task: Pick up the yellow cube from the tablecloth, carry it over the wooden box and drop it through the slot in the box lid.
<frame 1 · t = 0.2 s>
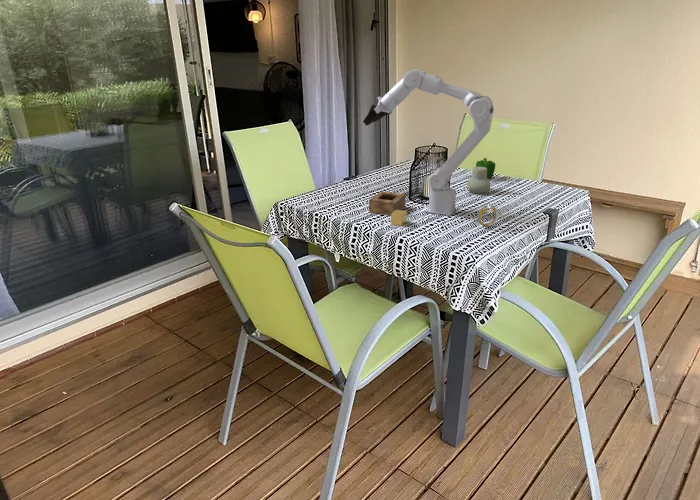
hand: (368, 121, 189), 31 cm above the table, tool tilted 45°, fingers open, 7 cm apart
bell pepper: (484, 179, 231), on the table
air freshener: (478, 192, 212), on the table
bracelet: (486, 227, 174), on the table
wooden box: (387, 209, 193), on the table
yellow cube: (398, 223, 180), on the table
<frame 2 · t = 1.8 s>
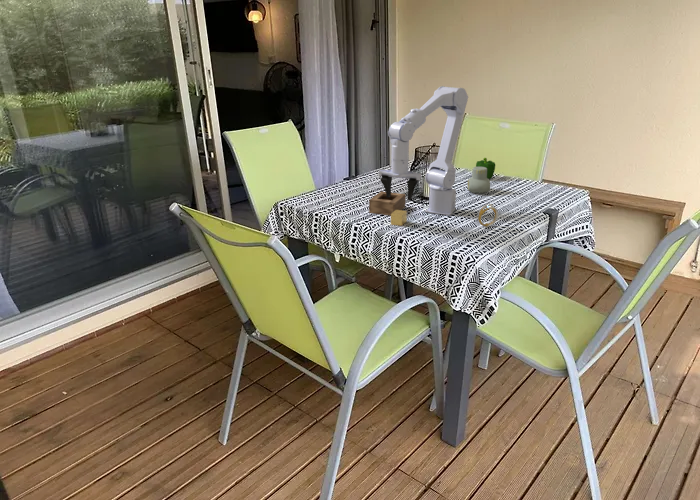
hand: (399, 198, 176), 9 cm above the table, tool pointing down, fingers open, 7 cm apart
nothing on the table moved.
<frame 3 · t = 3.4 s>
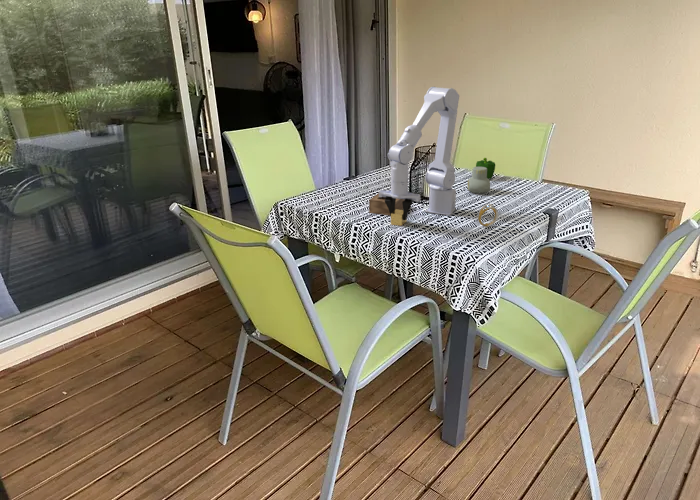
hand: (398, 218, 179), 2 cm above the table, tool pointing down, fingers closed on yellow cube, 4 cm apart
yellow cube: (398, 222, 180), on the table, touching gripper
everything else where it was.
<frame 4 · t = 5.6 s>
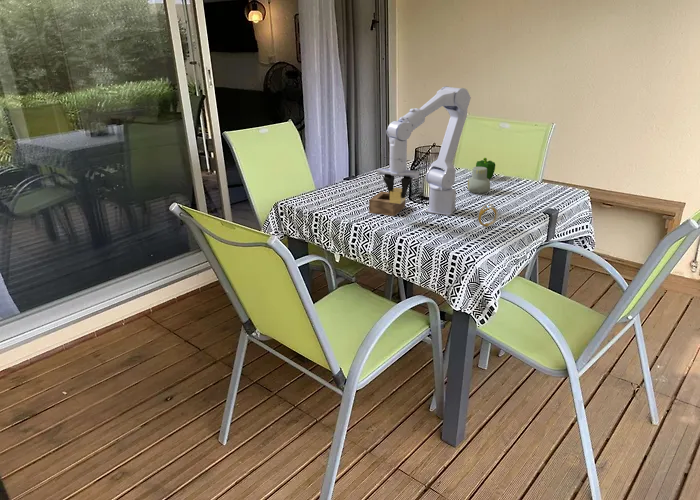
hand: (397, 196, 178), 9 cm above the table, tool pointing down, fingers closed on yellow cube, 4 cm apart
yellow cube: (397, 201, 179), point 7 cm above the table, touching gripper
everything else where it was.
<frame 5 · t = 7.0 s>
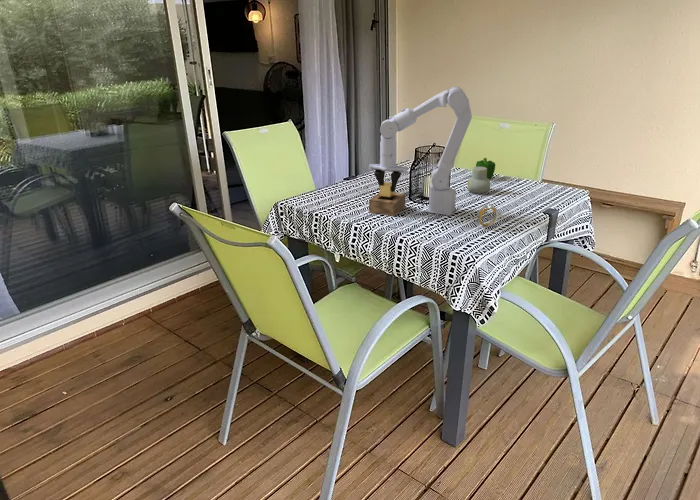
hand: (387, 190, 190), 8 cm above the table, tool pointing down, fingers closed on yellow cube, 4 cm apart
yellow cube: (387, 194, 191), point 6 cm above the table, touching gripper
everything else where it was.
when the fingers open (6 cm above the table, at t = 8.0 s): yellow cube drops 4 cm, resting on wooden box.
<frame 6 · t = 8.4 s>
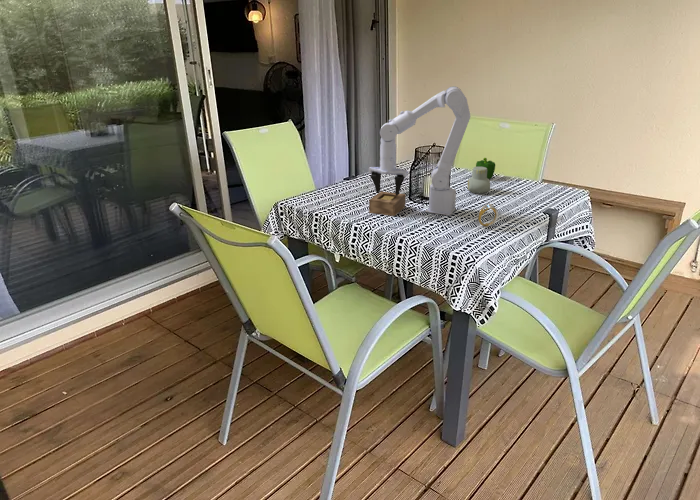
hand: (387, 193, 191), 6 cm above the table, tool pointing down, fingers open, 7 cm apart
yellow cube: (387, 208, 193), point 1 cm above the table, touching wooden box
everything else where it was.
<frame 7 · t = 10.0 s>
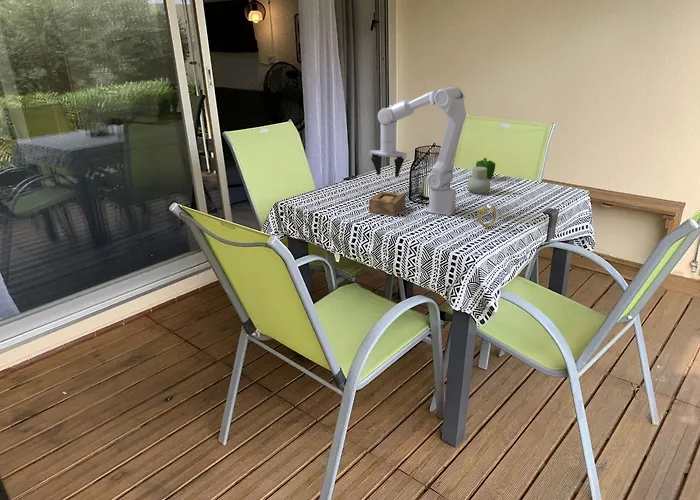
hand: (387, 175, 199), 10 cm above the table, tool pointing down, fingers open, 7 cm apart
nothing on the table moved.
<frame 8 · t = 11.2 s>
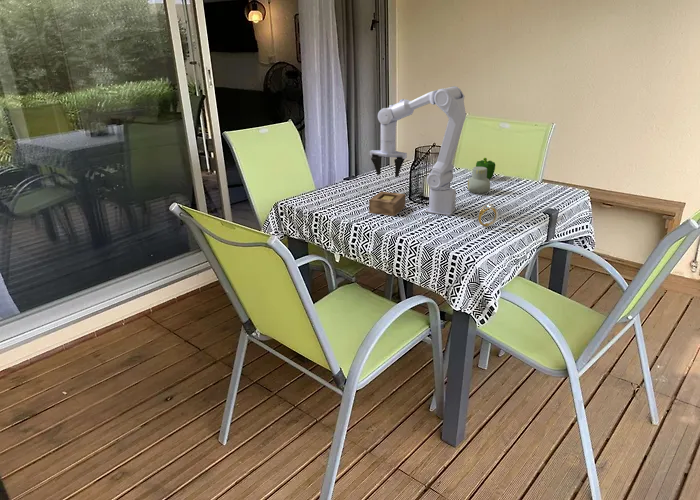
hand: (387, 175, 199), 10 cm above the table, tool pointing down, fingers open, 7 cm apart
nothing on the table moved.
at the end: yellow cube inside the target area on the wooden box (0.1 cm from its centre), point 0.6 cm above the wooden box's base; the gripper is holding nothing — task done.
